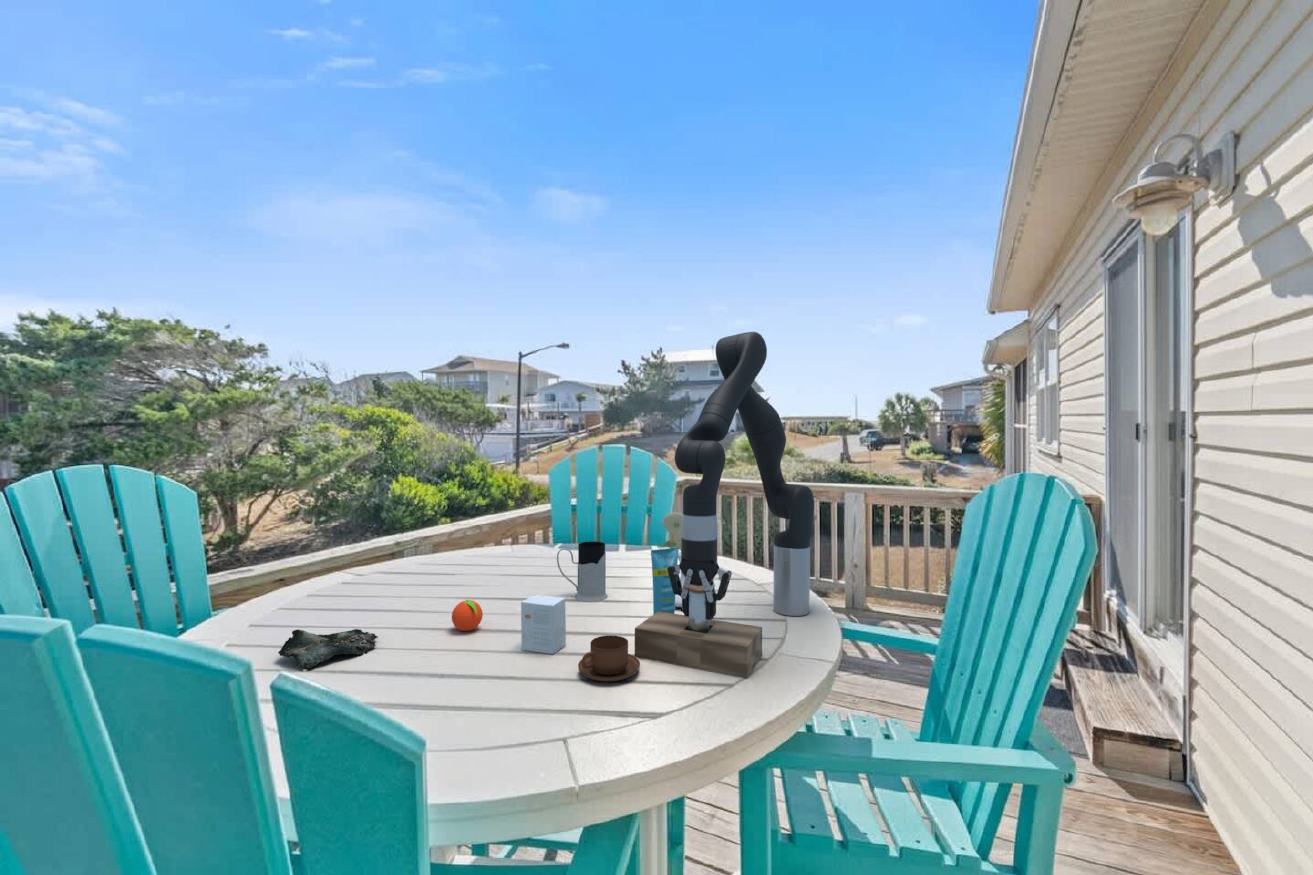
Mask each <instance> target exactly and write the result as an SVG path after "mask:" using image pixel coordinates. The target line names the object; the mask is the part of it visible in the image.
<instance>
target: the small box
mask: <svg viewBox="0 0 1313 875" xmlns="http://www.w3.org/2000/svg"><path fill="white" fill-rule="evenodd" d="M520 613H521V615H520V619H521V620H520V623H521V624H520V626H521V628H520V631H521V634H520V635H521V650H522V651H528V652H536V653H542V654H547V655H548V654H549V655H554V654H556V653H557V652H558V651H560V650H561V649H562V648H564V647H565V646H566V645H567V639H566V638H567V637H566V636H567V635H566V633H567V630H566V622H567V621H566V620H567V619H566V597H556V596H548V595H546V596H545V595H539V594H538V595H537V594H535V595H532V596H530V597H528V598H526V599H524V600H523V601H521V602H520Z"/></svg>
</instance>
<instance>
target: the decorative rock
mask: <svg viewBox="0 0 1313 875" xmlns="http://www.w3.org/2000/svg"><path fill="white" fill-rule="evenodd" d="M291 634H292V637H289V638H288V639H287V640H285V642H284V644H283V645H282V647H281V648H280V650H279V651H278V652H277V653H278V654H279V656H280V657H283V658H292V657H293V660H295V661H297V664H298V666H299V668H300V670H301V671H303V672H304V670H305V671H306V672H312V670H313V669H315V667H316V666H317V665H318V663H320V662H323V663H324V662H327V661H329V660H330V659H331V658H332V657H334V656H335V655H336V656H339V655H353V654H354V655H361V656H363V655H366V654H367V653H368V651H369V650H370V649H372V648H375V647H376V646H377V645H376V644H375V642H373V641H375V640H376V639H378V637H379V636H378V635H376V633H372V632H371V633H370V632H369V631H363V630H362V629H358V628H355V629H352V630H346V631H340V632H334V633H330V634H329V633H328V634H319V633H318V634H316V633H312V632H309V631H306V630H303V629H302V630H301V629H294V630H292V631H291Z"/></svg>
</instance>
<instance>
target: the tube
mask: <svg viewBox="0 0 1313 875" xmlns="http://www.w3.org/2000/svg"><path fill="white" fill-rule="evenodd" d="M679 547H680V546H679ZM679 547H678V546H675V547H673V548H670V547H667V548H661V549H650V556H651V572H652V573H651V574H652V575H651V576H652V604H653V605H652V606H653V607H652V608H653V611H652V612H653V614H652V615H654V614H655V613H656V612H658V611H660V612H666V613H673V614H676V612H675V610H676V607H675V594H674V593H673V590H672V586H671V582H670V578H669V574H668V570H667V569H668V567H670V566H671V565H674V564H675V565H678V561H679V559H678V553H679V550H680V549H679Z"/></svg>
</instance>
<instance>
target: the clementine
mask: <svg viewBox="0 0 1313 875" xmlns="http://www.w3.org/2000/svg"><path fill="white" fill-rule="evenodd" d="M483 616H484V614H483V609H482V606H480V604H479V603H478V602H476V601H474V600H471V599H469V600H468V599H467V600H462V601H461V602H459V603H458V604H456V605H455V607H454V609H453V610H452V612H451V621H452V624H453V626H454V627H455V628H456V629H458V630H460V631H462V632H469V631H472V630H474V629H476V628H477V627H478V626H479V625H480V624H481V622H482V619H483Z"/></svg>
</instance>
